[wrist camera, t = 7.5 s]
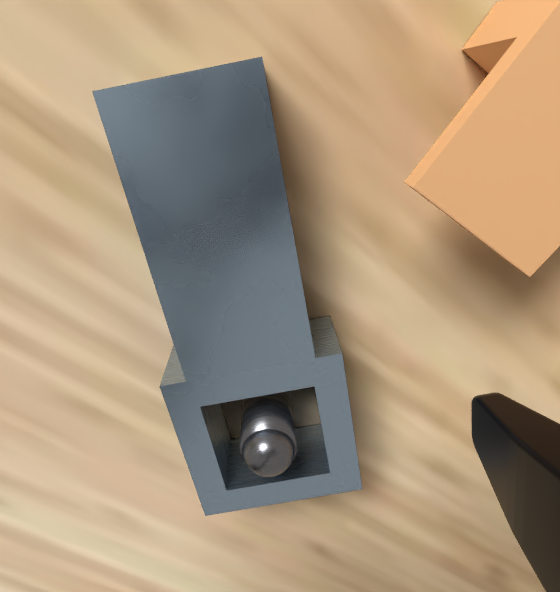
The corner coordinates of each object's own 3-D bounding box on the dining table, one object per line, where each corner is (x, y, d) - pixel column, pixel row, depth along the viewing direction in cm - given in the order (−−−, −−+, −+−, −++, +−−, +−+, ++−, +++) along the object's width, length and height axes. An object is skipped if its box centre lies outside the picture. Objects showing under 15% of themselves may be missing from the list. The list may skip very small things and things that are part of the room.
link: (349, 439, 20) (362, 489, 18) (212, 462, 20) (205, 515, 18) (290, 57, 14) (297, 49, 11) (94, 97, 14) (58, 98, 12)
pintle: (294, 410, 19) (302, 485, 16) (248, 418, 19) (246, 494, 16) (286, 371, 18) (293, 440, 15) (238, 380, 19) (233, 450, 15)
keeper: (468, 235, 16) (529, 277, 13) (375, 165, 15) (413, 187, 12) (591, 94, 15) (704, 94, 11) (496, 2, 14) (587, -33, 10)
